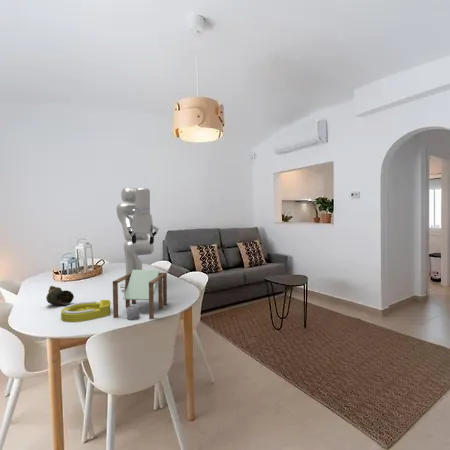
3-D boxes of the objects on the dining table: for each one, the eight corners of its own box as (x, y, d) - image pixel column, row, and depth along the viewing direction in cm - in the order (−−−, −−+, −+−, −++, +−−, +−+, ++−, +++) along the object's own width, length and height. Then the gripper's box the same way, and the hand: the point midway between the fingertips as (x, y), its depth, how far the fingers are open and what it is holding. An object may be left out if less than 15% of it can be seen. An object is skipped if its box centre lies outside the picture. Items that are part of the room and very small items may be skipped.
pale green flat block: (126, 303, 139) (122, 298, 135) (135, 274, 149) (132, 269, 146) (155, 304, 138) (152, 299, 134) (162, 275, 148) (159, 270, 144)
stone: (129, 305, 133) (129, 315, 133) (124, 308, 127) (125, 319, 128) (140, 305, 132) (140, 316, 132) (136, 309, 127) (136, 320, 127)
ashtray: (109, 318, 130) (109, 307, 130) (58, 325, 123) (57, 313, 123) (110, 307, 146) (110, 297, 145) (64, 312, 138) (64, 302, 138)
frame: (113, 317, 131) (112, 281, 130) (133, 302, 151) (132, 271, 151) (152, 319, 129) (152, 282, 128) (167, 304, 149) (166, 272, 149)
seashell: (54, 310, 140) (54, 290, 140) (43, 306, 146) (42, 287, 146) (75, 304, 149) (75, 285, 149) (63, 300, 155) (63, 282, 155)
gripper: (123, 211, 147) (124, 244, 148) (155, 212, 144) (155, 245, 146) (130, 210, 154) (130, 242, 156) (160, 211, 152) (160, 243, 153)
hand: (142, 243), depth 151 cm, fingers open, 9 cm apart
